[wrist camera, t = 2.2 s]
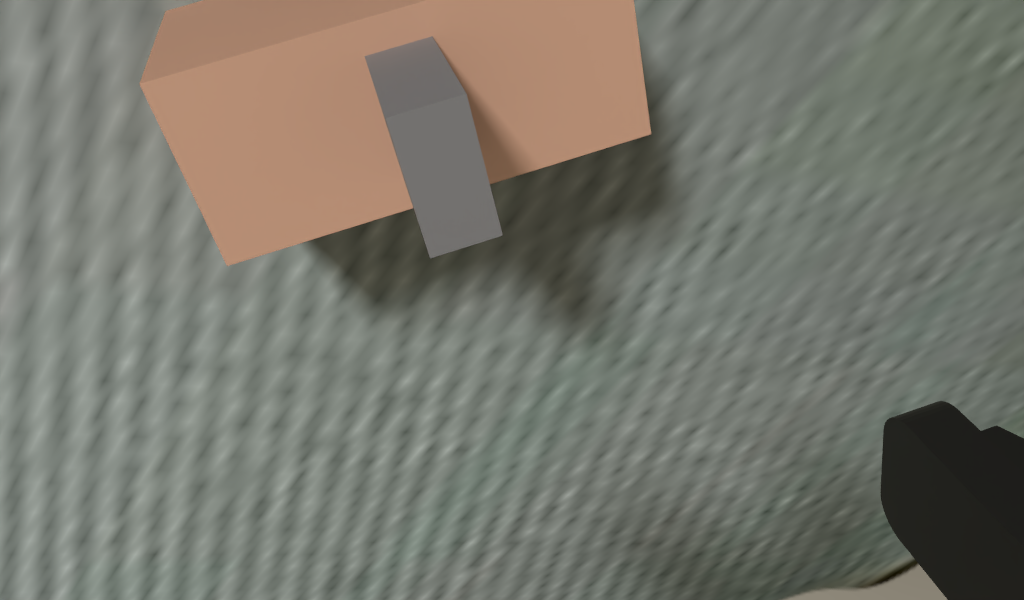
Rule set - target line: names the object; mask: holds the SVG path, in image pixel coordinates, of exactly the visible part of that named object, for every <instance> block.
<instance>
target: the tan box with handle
mask: <svg viewBox="0 0 1024 600" xmlns="http://www.w3.org/2000/svg"><path fill="white" fill-rule="evenodd" d="M140 86H141V88H142V90H143V92H144V94H145V96H146V99H147V101H148V103H149V105H150V107H151V109H152V111H153V113H154V115H155V117H156V119H157V121H158V123H159V126H160V128H161V130H162V132H163V134H164V136H165V138H166V140H167V142H168V144H169V146H170V148H171V150H172V153H173V155H174V157H175V159H176V161H177V163H178V165H179V167H180V169H181V171H182V173H183V175H184V177H185V180H186V182H187V184H188V186H189V188H190V190H191V192H192V194H193V196H194V198H195V200H196V202H197V204H198V207H199V209H200V211H201V213H202V215H203V217H204V219H205V221H206V223H207V225H208V227H209V229H210V231H211V234H212V236H213V238H214V240H215V242H216V244H217V246H218V248H219V250H220V252H221V254H222V256H223V258H224V261H225V263H226V265H227V266H229V265H232V264H235V263H238V262H242V261H245V260H248V259H251V258H254V257H258V256H261V255H264V254H267V253H270V252H274V251H277V250H280V249H283V248H287V247H290V246H293V245H296V244H299V243H303V242H306V241H309V240H312V239H316V238H319V237H322V236H325V235H328V234H332V233H335V232H338V231H341V230H344V229H348V228H351V227H354V226H357V225H361V224H364V223H367V222H370V221H373V220H377V219H380V218H383V217H386V216H390V215H393V214H396V213H399V212H402V211H406V210H409V209H412V208H414V211H415V214H416V217H417V220H418V223H419V226H420V229H421V232H422V235H423V239H424V242H425V245H426V248H427V251H428V254H429V257H430V258H433V257H436V256H440V255H443V254H446V253H449V252H452V251H455V250H459V249H462V248H465V247H468V246H471V245H474V244H478V243H481V242H484V241H487V240H490V239H493V238H497V237H500V236H503V234H502V230H501V226H500V222H499V218H498V214H497V211H496V207H495V203H494V199H493V195H492V191H491V187H490V184H493V183H496V182H499V181H502V180H505V179H509V178H512V177H515V176H518V175H521V174H525V173H528V172H531V171H534V170H538V169H541V168H544V167H547V166H550V165H554V164H557V163H560V162H563V161H567V160H570V159H573V158H576V157H579V156H583V155H586V154H589V153H592V152H596V151H599V150H602V149H605V148H608V147H612V146H615V145H618V144H621V143H624V142H628V141H631V140H634V139H637V138H641V137H644V136H647V135H650V134H651V128H650V121H649V113H648V105H647V98H646V90H645V83H644V75H643V67H642V60H641V52H640V45H639V37H638V30H637V22H636V14H635V7H634V0H203V1H200V2H196V3H193V4H189V5H186V6H182V7H179V8H175V9H172V10H168V11H165V14H164V17H163V20H162V23H161V25H160V28H159V31H158V34H157V36H156V39H155V42H154V45H153V48H152V50H151V53H150V56H149V59H148V61H147V64H146V67H145V70H144V73H143V75H142V78H141V81H140Z"/></svg>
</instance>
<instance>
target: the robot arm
mask: <svg viewBox="0 0 1024 600" xmlns="http://www.w3.org/2000/svg"><path fill="white" fill-rule="evenodd" d="M881 501H882V505H883V509H884V512H885V515H886V517H887V519H888V522H889V524H890V526H891V527H892V529H893V531H894V533H895V534H896V536H897V537H898V538H899V540H900V541H901V542H902V544H903V545H904V546H905V547H906V549H907V550H908V551H909V552H910V553H911V555H912V556H913V557H914V558H915V560H916V561H917V562H918V563H919V565H920V566H921V567H922V568H923V570H924V571H925V572H926V573H927V574H928V576H929V577H930V578H931V579H932V581H933V582H934V583H935V584H936V586H937V587H938V588H939V589H940V591H941V592H942V593H943V594H944V595H945V597H946V598H947V599H948V600H1024V439H1023V438H1021V437H1019V436H1017V435H1015V434H1013V433H1011V432H1009V431H1007V430H1005V429H1003V428H1001V427H999V426H994V427H991V428H988V429H986V430H983V431H980V430H979V429H978V428H977V427H976V426H975V425H974V424H973V423H972V422H970V421H969V420H968V419H967V418H966V417H965V416H964V415H963V414H962V413H961V412H960V411H959V410H958V409H957V408H955V407H954V406H953V405H951V404H949V403H947V402H944V401H939V402H936V403H933V404H930V405H927V406H924V407H921V408H918V409H915V410H912V411H909V412H907V413H904V414H901V415H898V416H895V417H892V418H889V419H888V420H887V421H886V422H885V425H884V434H883V454H882V475H881Z"/></svg>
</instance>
